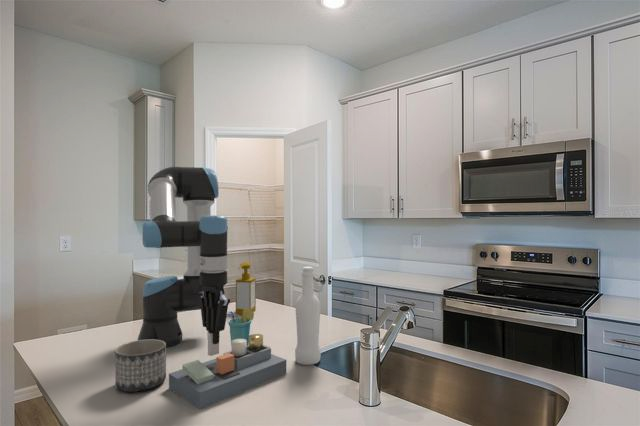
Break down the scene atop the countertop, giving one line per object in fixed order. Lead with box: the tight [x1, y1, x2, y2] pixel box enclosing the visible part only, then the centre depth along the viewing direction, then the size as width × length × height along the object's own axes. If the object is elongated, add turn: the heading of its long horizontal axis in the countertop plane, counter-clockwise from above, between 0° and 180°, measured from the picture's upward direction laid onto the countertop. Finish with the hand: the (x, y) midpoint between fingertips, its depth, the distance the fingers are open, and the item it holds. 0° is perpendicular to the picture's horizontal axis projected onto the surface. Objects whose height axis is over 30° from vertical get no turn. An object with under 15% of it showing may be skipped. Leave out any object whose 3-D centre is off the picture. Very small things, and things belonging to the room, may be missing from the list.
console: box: [168, 344, 287, 410], centre depth 108 cm, size 16×28×7 cm, turn 137°
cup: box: [226, 308, 255, 348], centre depth 129 cm, size 14×8×15 cm, turn 156°
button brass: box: [248, 333, 264, 350], centre depth 115 cm, size 4×4×4 cm
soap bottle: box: [235, 261, 257, 315], centre depth 179 cm, size 7×13×24 cm, turn 170°
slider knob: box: [215, 353, 234, 375], centre depth 104 cm, size 2×4×4 cm, turn 137°
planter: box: [114, 339, 167, 392], centre depth 106 cm, size 13×13×10 cm
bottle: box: [294, 266, 322, 366], centre depth 122 cm, size 8×8×30 cm
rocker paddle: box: [181, 359, 214, 384], centre depth 101 cm, size 8×4×1 cm, turn 47°
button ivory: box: [231, 339, 247, 356], centre depth 110 cm, size 4×4×4 cm
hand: (213, 353), depth 108 cm, fingers closed
